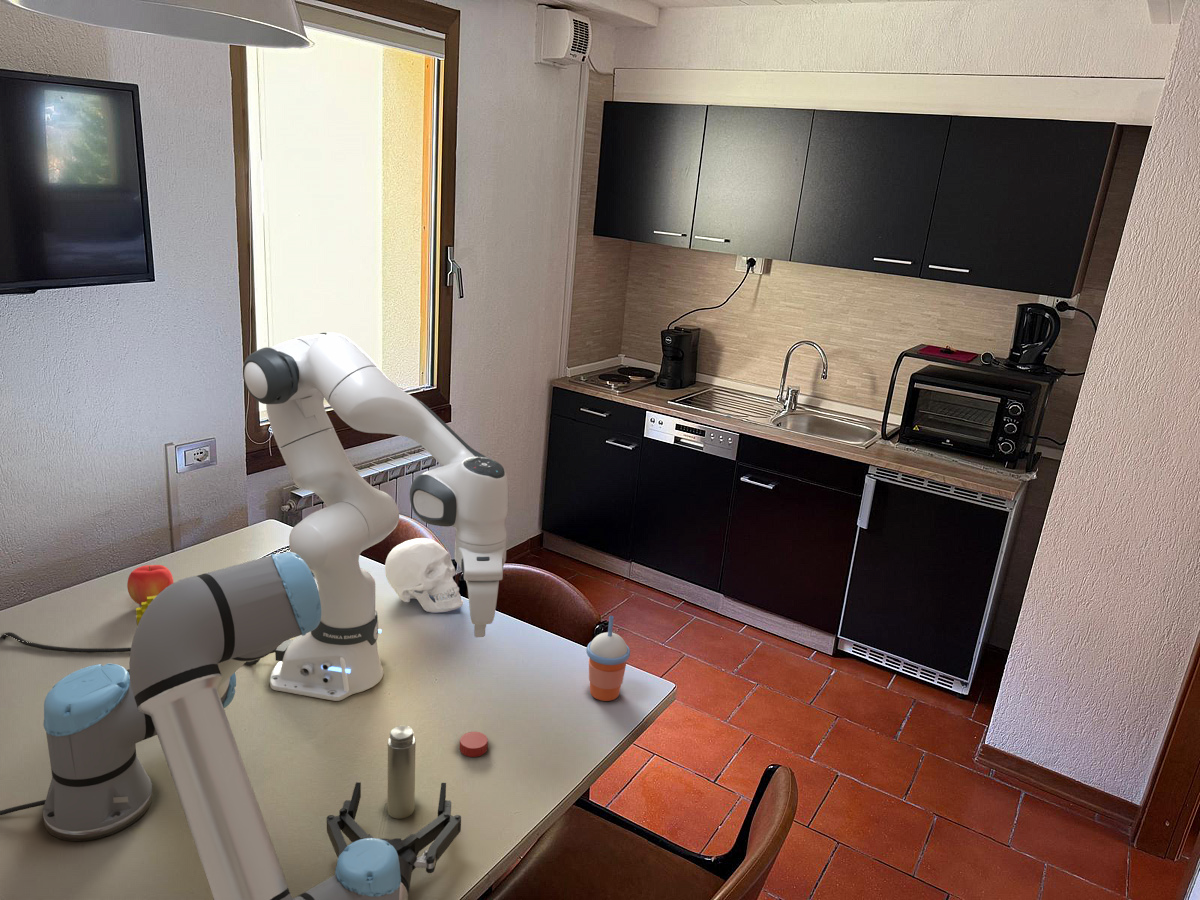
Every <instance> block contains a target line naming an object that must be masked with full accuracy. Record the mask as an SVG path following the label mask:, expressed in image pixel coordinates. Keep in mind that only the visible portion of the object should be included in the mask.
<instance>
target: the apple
mask: <svg viewBox="0 0 1200 900" xmlns="http://www.w3.org/2000/svg"><path fill="white" fill-rule="evenodd" d="M173 583H175V581H174V577H173V574H172V572H171V570H169V568H168V567H166V566H165V565H162V564H146V565H140V566H139V567H137V568H135V569H133V570H132V571H131V572H130V574H129V575H128V577H127V584H126V588H127V593H128V596H129V597H130V598H131V599H132V601H134V602H135V603H136V604H138V605H139V606H140V607H142V602H147V597H149V596H157V595H158V594H159V593H160V592H162V591H163V590H164V589H165V588H166V587H168V586H169V585H171V584H173Z"/></svg>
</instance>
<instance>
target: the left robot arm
mask: <svg viewBox="0 0 1200 900" xmlns="http://www.w3.org/2000/svg"><path fill="white" fill-rule="evenodd" d="M320 620H321V601H320V596H319V592H318V585H317V581H316V578H315V576H314V574H313V572H311V570H310V569H309V567H308V565H307V564H306V562H305V561H304V560H303V559H302V558H301V557H300V556H299V555H297V554H295V553H293V552H291V551H285V552H280V553H271V554H270V555H267V556H264V557H261V558H257V559H253V560H250V561H246V562H241V563H238V564H235V565H230V566H226V567H223V568H220V569H216V570H213V571H212V570H211V571H209V572H205V573H202V574H198V575H191V576H188V577H184V578H182V579H179V580H177V581H174V583H173V584H171V585H169V586H168V587H166V588H165V589H164V590H163V591H162V592H160V593H159V594H158V595H157V596H156V597H155V598H154V599H153V600H152V602H151V603H150V604H149V606H148V607H147V609H146V610H145V612H144V614H143V615H142V617H141V619H140V621H139V624H138V626H137V625H136V628H135V631H134V635H133V638H132V642H131V647H130V648H131V652H129V666H128V669H126V668H125V667H124V666H122V665H119V664H116V663H106V664H104V665H102V664H101V663H97V664H92V665H89V666H85V667H82V668H80V669H78V670H75V671H73V672H71V673H69V674H67V675H66V676H64V677H63V678H61V679H60V680H58V681H57V682H56V683H55V684H54V685H53V686H52V688H51V689H50V690H49V691H48V692H47V694H46V696H45V697H44V701H43V729H44V731H45V733H46V741H47V750H48V755H49V763H50V770H51V771H50V772H51V779H50V782H49V787H48V791H47V795H46V797H45V799H42V800H38V801H33V802H28V803H25V804H24V803H23V804H20V805H17V806H13V807H8V808H5V809H1V810H0V816H4V815H8V814H10V813H15V812H19V811H23V810H27V809H32V808H36V807H40V806H43V808H42V816H43V825H44V828H45V830H46V831H47V832H48V833H49V834H50V835H51V836H53V837H54V838H57V839H59V840H63V841H70V842H84V841H91V840H96V839H100V838H103V837H104V838H105V837H107V836H110V835H114V834H115V833H118V832H120V831H122V830H124V829H126V828H127V827H130V826H131V825H133V824H134V823H135V822H137V821H138V820H139V819H140V818H141V817H142V816H143V815H144V814H145V813H146V812H147V810H148V809H149V808H150V806H151V804H152V802H153V798H154V792H153V791H154V789H153V783H152V779H151V777H150V776H149V774H148V773H147V772H146V769H145V767H144V766H143V764H142V762H141V760H140V759H139V757H138V755H137V747H136V746H137V745H136V744H138V743H140V742H143V741H145V740H148V739H151V738H152V737H155V736H157V738H158V741H159V744H160V746H161V749H162V752H163V756H164V758H165V762H166V764H167V767H168V771H169V773H170V776H171V779H172V782H173V785H174V787H175V790H176V794H177V796H178V799H179V802H180V805H181V807H182V810H183V812H184V816H185V818H186V821H187V824H188V825H187V826H188V827H189V831H190V833H191V837H192V839H193V842H194V844H195V847H196V851H197V854H198V857H199V859H200V862H201V864H202V865H201V866H202V869H203V871H204V874H205V877H206V879H207V882H208V885H209V888H210V891H211V894H212V897H213V899H214V900H408V899H409V894H410V887H411V881H412V875H413V872H414V871H415V869H416V868H420V869H421V868H422V869H425V872H426V873H427V874H432V873H434V872H435V869H436V865H437V862H438V861H439V860H440V858H441V857H442V856H443V854H445V852H446V851H447V849H448V848H449V847H450V846H451V844H452V843H453V842H454V840H455V839H456V838H457V836H458V835H460V833H461V831H462V816H461V815H459V814H455V815H452V801H451V799H449V800H448V799H447V782H440V791H439V797H438V798H439V799H438V806H437V816H436V818H435V819H433V820H431V821H430V822H429V823H427V824H426V825H425V826H424V827H422V828H421V829H419V830H418V831H417V832H415V833H411V834H409V835H408V836H406V837H405V838H404V839H402V837H401V838H391V839H390V838H376V837H373V835H371V834H370V833H369V834H368V833H367V832H366V830H364V829H363V827H361V826H360V825H359V824H358V822H357V821H356V816H357V813H358V808H359V806H360V801H361V796H362V787H361V786H362V785H361V783H362V782H355V784H354V787H353V792H352V794H351V799H350V800H349V799H346V800H344V801H343V803H342V807H341V808H340V809H339V813H338V814H339V815H336V816H335V815H333V814H329V815H327V816H326V833H327V837H328V838H329V840H330V843H331V845H332V848H333V850H334V853H335V855H336V857H337V861H336V865H335V868H334V870H335V873H334V875H332V876H330V877H329V878H326V879H325V880H323V881H321V882H319V883H318V884H316V885H315V886H313V887H311V888H310V889H307V890H306V891H304V892H302V893H300V894H298V895H296V897H293V896H292V894H291V892H290V889H289V885H288V882H287V879H286V877H285V874H284V871H283V869H282V865H281V862H280V860H279V857H278V855H277V851H276V849H275V846H274V843H273V841H272V837H271V835H270V833H269V829H268V826H267V824H266V822H265V821H266V820H265V818H264V816H263V813H262V810H261V808H260V804H259V802H258V799H257V796H256V793H255V791H254V788H253V786H252V783H251V780H250V777H249V774H248V772H247V769H246V766H245V764H244V760H243V758H242V755H241V751H240V749H239V747H238V744H237V741H236V738H235V736H234V733H233V730H232V727H231V725H230V722H229V718H228V716H227V714H226V710H225V709H226V708H227V707H229V705H230V704H231V703H232V701H233V700H234V698H235V696H236V689H235V688H236V687H237V676H236V675H237V674H236V673H237V671H238V670H240V668H241V667H242V666H244V665H245V664H244V663H245V662H246V661H254V660H258V659H260V660H261V659H263V658H265V657H267V656H268V655H270V654H272V653H271V652H273V651H274V650H275V649H276V648H278V647H279V646H280V645H281V644H282V643H283V642H284V641H286V640H292V639H295V638H296V637H297V636H300V635H302V636H304V635H306V633H308V632H310V631H313V630H315V629H316V628H317V627H318V625H319V623H320ZM446 799H447V800H446ZM343 834H344V835H345V836H346V838H347V839H348V840H349V841H350V842H351V843H350V844H348V845H347V841H346V839H345V836H344V835H343ZM428 846H429V847H428ZM426 847H428V849H425V848H426ZM424 849H425V850H424ZM422 850H424V852H423V853H422V855H420V856H418V855H419V853H420V852H421V851H422Z"/></svg>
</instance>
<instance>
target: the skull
mask: <svg viewBox="0 0 1200 900" xmlns="http://www.w3.org/2000/svg"><path fill="white" fill-rule="evenodd" d="M384 573H385V577H386V580H387V582H388V584H389V585H390V588H392V590H393V591H394V592H395V593H396V594H397V596H398V598H399V599H400V600H401V601H402V602H404V603H410V601H411V599H416V600H417V601H418V603H419V604H420V605H421V607H422V609H423V610H424V612H425V611H426V612H427V613H433V614H435V613H436V614H437V613H447V612H451V611H454V610H455V611H456V610H458V609H460V608H463V606H464V602H465V601H464V600H463V599H462V596H461V594H460V587H459V586H458V584H457V583H456V581H455V580H454V577H455V576H456V574H457V572H456V568H455V566H454V564H453V561H452V559H451V554H450V552H449V551H447V550H446V549H445V548H444V547H443V545H441V544H440V543H439V542H437V541H436V540H434V539H431V538H425V537H419V538H417V537H416V538H413V539H408V540H405V541H403V542H401V543H399V544H397V545H396V546H393V548H392V549H391V551H389V553H388V554H387V557H386V559H385V563H384ZM430 596H431V597H433V599H434V600H432V599H431V597H430Z"/></svg>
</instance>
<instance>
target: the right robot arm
mask: <svg viewBox="0 0 1200 900" xmlns="http://www.w3.org/2000/svg"><path fill="white" fill-rule="evenodd" d="M242 378H243V379H242V380H243V382H244V384H245V385H244V386H245V388H246V390H247V391H248V393H249V394H250V395H251V396H252V397H253V398H254V399H255V400H256V401H257V402H259V403H261V404H263V405H265V406H266V407H265V408H266V413H267V418H268V422H269V426H270V428H271V432H272V434H273V437H274V440H275V443H276V446H277V448H278V449H279V452H280V455H281V456H282V459H283V461H284V463H285V465H286V467H287V470H288V472H289V474H290V477H291V478H292V482H293V483H294V484H295V485H296V486H297V487H298V488H300V489H302V490H304V491H309V492H312V493H314V494H315V495H316V496H317V497H319V498H320V499H321V501H322V502H323V503H324V504H325V506H326V507H324V508H321V509H318V510H316V511H314V512H311V513H310V514H308V515H307V516H305V517H304V518H303V519H302V520H301V521H299V522H298V523H297V524H296V525H294V526H293V527H292V528H291V530H290V533H289V538H288V545H289V546H288V547H289V549H290V552H293V553H295V554H297V555H299V556H300V557H301V558H302V559H303V560H304V561H305V562H306V564H307V565H308V567H309V569H310V570H311V571H312V572H311V573H312V575H313V577H314V579H315V582H316V585H317V588H318V592H319V596H320V601H321V620H320V623H319V625H318V627H317V628H316V629H315V630H313V631H310V632H308V633H306V635H304V636H302V635H300V636H297V637H294V638H293V639H289V640H286V641H284V642H283V643H282V644H280V645H279V646H278V647H277V648H276V649H275V650H274V651H273V652H271V653H270V654H275V661H276V662H277V663H276V664H275V666H274V667H273V669H272V670H271V673H270V676H269V686H270V688H271V689H272V690H274V691H278V692H283V693H289V694H295V695H300V696H304V697H305V696H306V697H310V698H315V699H316V698H317V699H322V700H327V701H334V702H339V701H340V702H341V701H342V700H344V699H346V698H348V697H350V696H351V695H355V694H358V693H363V692H364V691H367V690H369V689H371V688H373V687H374V686H377V685H378V684H379V682H380V681H382V680H383V677H384V668H383V666H382V662H381V658H380V654H379V649H378V641H377V640H378V637H379V634H382V629H381V628H379V619H378V617H379V615H378V611H377V610H376V580H375V578H374V576H373V575H372V574H371V573H370V572H369V571H367V570H366V569H364V568H362V567H361V566H360V555H361V553H362V552H363V551H365V550H367V549H369V548H370V547H373V546H375V545H377V544H379V543H380V542H382V541H384V540H385V539H386V538H387V537H388V536H389V535H390V534H391V533H392V532H393V531H394V530H395V529H396V528H397V526H398V525H399V522H400V510H399V508H398V507H399V506H398V505H397V502H396V501H395V499H394V498H393V497H392V496H391V494H389V493H387V492H385V491H383V490H380V489H377V488H375V487H374V486H372V485H371V484H370V483H368V481H367V480H366V479H364V477H362V476H361V475H360V473H359V472H358V470H356V468H355V467H354V465H353V464H352V463H351V461H350V459H349V458H348V455H347V453H346V451H345V449H344V447H343V445H342V443H341V440H340V439H339V437H338V434H337V432H336V429H335V428H334V425H333V423H332V421H331V419H330V417H329V415H328V414H327V411H326V409H325V405H324V399H325V401H326V402H327V403H328V405H329V406H330V407H331V408H332V410H333V411H334V412H335V414H336V415H337V416H338V417H339V418H340V420H342V421H343V422H344V423H345V424H346V425H347V426H349V427H350V428H351V429H353V430H356V431H358V432H362V433H368V434H384V435H385V434H388V435H395V436H400V437H405V438H408V439H411V440H412V441H415V442H416V443H418V444H419V445H420V446H421V447H422V448H423V449H424V450H425V451H426V452H427V453H428V454H430V456H432V457H433V459H435V460H436V461H437V462H438V463H439V465H441V466H438V467H435V468H433V469H429V470H427V471H425V472H423V473H420V474H419V475H416V477H414V478H413V480H412V483H411V484H410V489H409V502H410V505H411V508H412V511H413V513H414V514H415V515H416V517H417V518H418V519H419V520H421V521H422V522H423V523H425V524H427V525H432V526H437V527H453V529H454V530H455V540H454V541H455V543H454V561H455V562H456V564H457V565H458V567H459V568H460V570H461V573H462V577H463V580H464V581H465V583H466V587H467V597H468V606H469V607H468V608H469V616H470V623H471V624H472V625H473V627H474V629H473V631H474V632H473V633H474V637H475V638H484V637H485V636H486V627H487V625H491V624H493V622H494V620H495V615H496V609H497V601H498V596H499V595H498V594H499V585H500V581H502V580H503V579H504V566H505V563H506V561H507V545H508V544H507V543H508V530H507V525H506V522H507V518H508V515H509V505H510V504H509V503H510V490H509V489H510V488H509V478H508V474H507V471H506V468H505V467H504V466H503V465H502V464H501V463H500V462H498V461H497V460H494V459H492V458H489V457H487V456H486V455H484V454H483V453H480V452H479V451H477V450H475V449H474V448H472V447H471V446H470V445H469V444H468V443H467V442H466V441H465V440H463V439H462V438H461V437H460V436H459V435H458V434H457V433H456V432H455V431H454V430H453V429H452V428H451V427H450V425H448V424H447V423H446V422H445V421H444V420H443V419H442V418H440V416H439V415H437V413H435V412H434V411H433V410H432V409H431V408H430V407H429V406H428V405H426V404H425V403H424V402H423V401H421V400H420V399H418V398H416V397H415V396H412V395H411V394H409V393H407V392H406V391H405V390H403V389H402V388H401V387H399V385H398V384H395V382H393V381H392V380H391V379H390V378H389V377H388V376H387V375H386V374H385V372H383V371H382V369H381V368H380V367H379V366H378V365H377V364H376V362H375V361H374V360H373V359H372V358H371V357H370V356H369V355H368V354H367V353H366V352H365V351H364V350H363V349H362V348H361V347H359V346H358V345H357V344H356V343H355V342H354V341H353V340H351V339H350V338H349V337H347V336H345V335H343V334H341V333H337V332H321V333H319V334H313V335H305V336H299V337H295V338H292V339H290V340H287V341H284V342H283V341H282V342H280V343H277V344H275V345H272V346H269V347H267V346H265V347H262V348H260V349H257V350H255V351H254V352H252V353H251V354H249V355H248V356H246V358H245V360H244V363H243V368H242ZM4 634H6V635H8V636H6V635H4ZM10 636H11V637H10ZM8 637H10V638H12V637H13V638H12V639H14V638H15V639H14V640H16V639H17V640H16V641H17V642H18V643H20V644H21V645H24V646H27V647H31V648H35V649H39V650H40V649H41V650H46V651H53V652H54V651H55V652H64V653H65V652H66V653H89V654H90V653H92V654H93V653H96V654H97V653H101V654H103V653H130V652H131V647H108V648H107V647H106V648H105V647H104V648H103V647H98V648H96V647H94V648H93V647H91V648H90V647H88V648H87V647H86V648H85V647H84V648H82V647H65V646H54V645H48V644H47V645H46V644H42V643H37V642H32V641H29V640H26V639H25V638H22V637H21V636H19V635H18V634H16V633H14V632H12V631H11V632H8V631H7V632H5V633H3V634H2V635H1V636H0V639H6V638H8ZM18 640H20V641H18ZM22 641H24V642H22ZM26 641H27V642H28V643H27V642H26ZM29 642H30V643H29ZM31 642H32V643H31ZM260 660H261V659H258V660H254V661H246V662H245V663H244V664H243V665H246V666H254V665H256V664H258V663H259V662H260Z"/></svg>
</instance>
